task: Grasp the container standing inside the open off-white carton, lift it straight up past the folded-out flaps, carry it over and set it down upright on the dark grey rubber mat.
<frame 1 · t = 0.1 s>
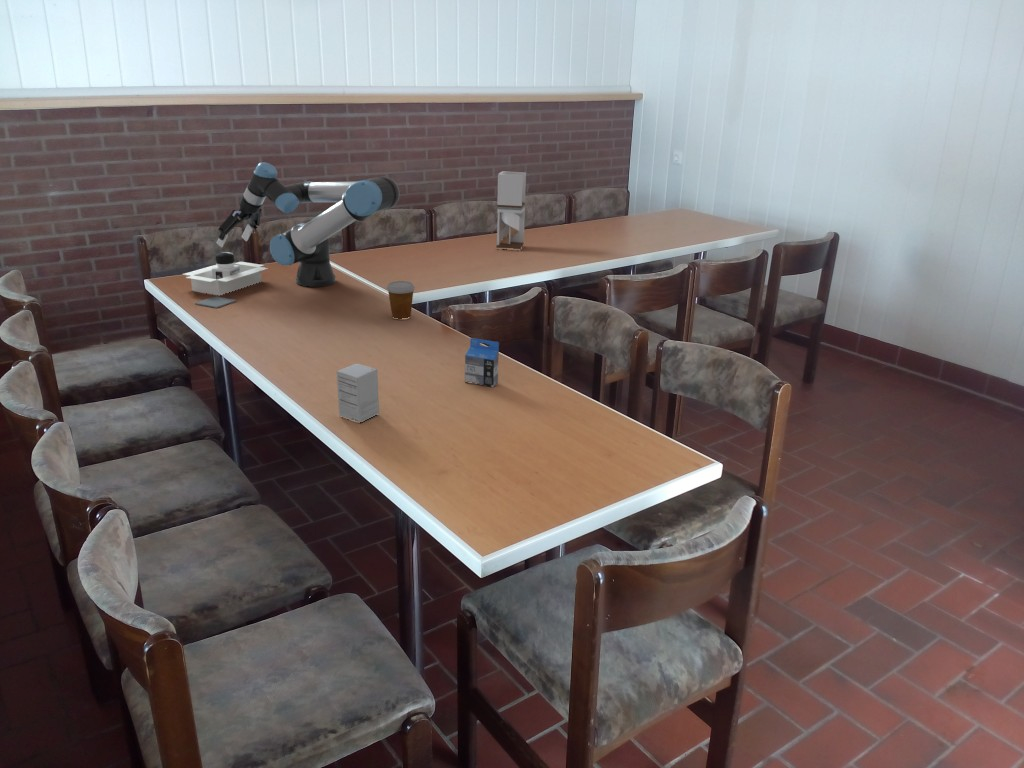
hand: (232, 242, 319), 15 cm above the table, tool tilted 35°, fingers open, 13 cm apart
label tape cartridge: (481, 383, 231), on the table
mat: (216, 302, 296), on the table
disposable coffee cup: (401, 318, 286), on the table
white hollow stand: (510, 248, 392), on the table
grey drawer cabinet: (359, 416, 208), on the table
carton: (227, 286, 316), on the table
container: (227, 286, 316), resting in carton
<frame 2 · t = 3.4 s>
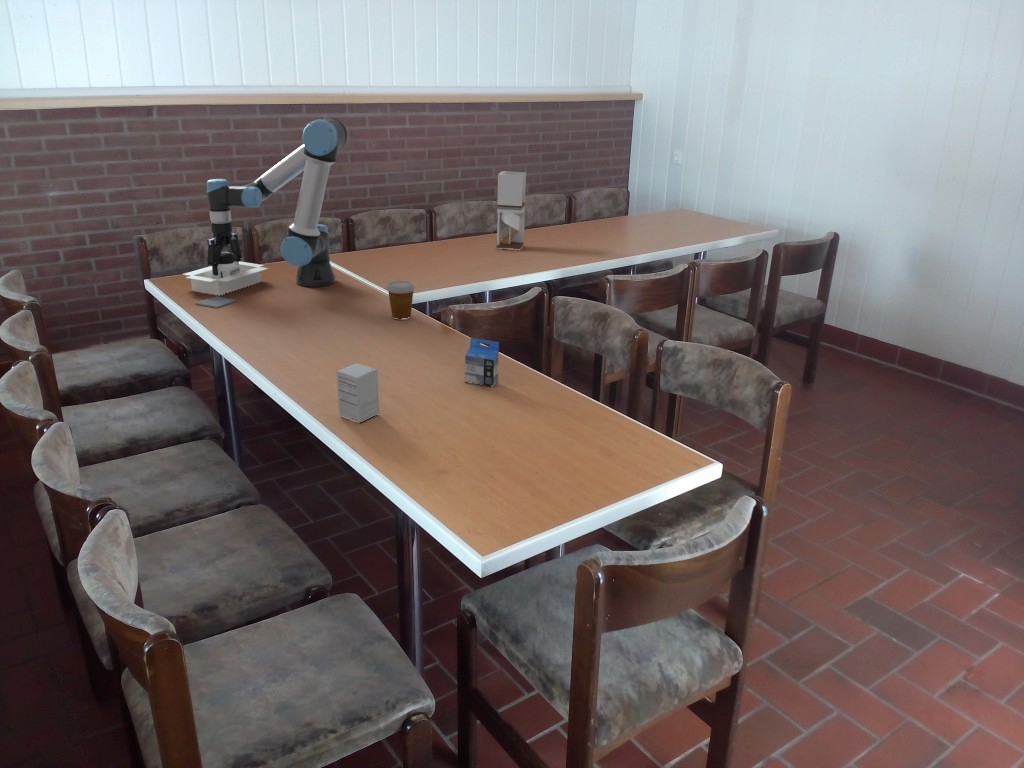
hand: (227, 280, 315), 2 cm above the table, tool pointing down, fingers closed on container, 9 cm apart
container: (227, 286, 316), resting in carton, touching gripper
everything else where it was.
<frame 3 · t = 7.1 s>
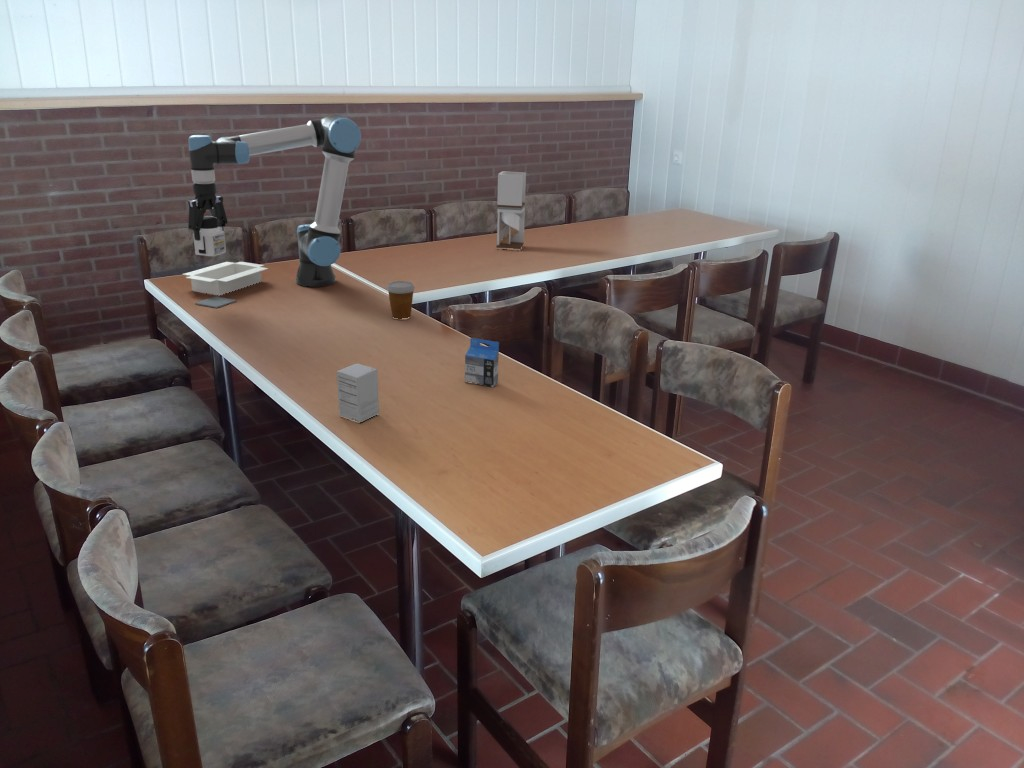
hand: (210, 246, 291), 20 cm above the table, tool pointing down, fingers closed on container, 9 cm apart
container: (211, 254, 292), point 17 cm above the table, touching gripper
everything else where it was.
when the fingers open (4 cm above the table, at t = 11.1 s): container drops 1 cm, resting on mat.
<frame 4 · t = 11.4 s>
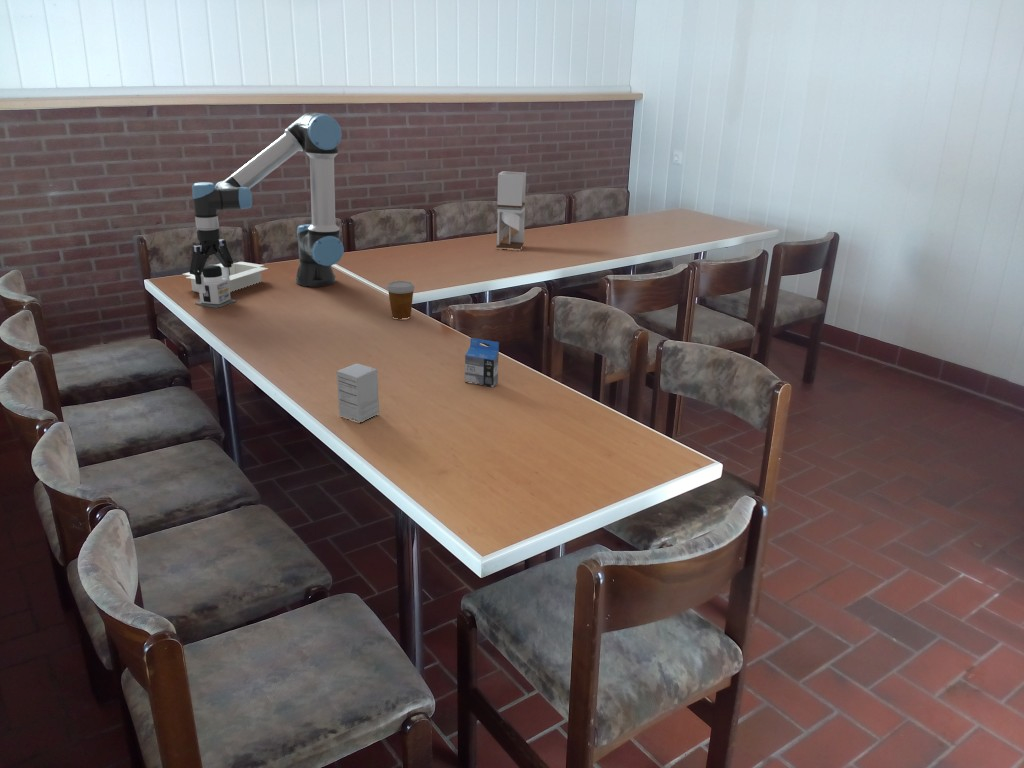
hand: (214, 288, 294), 5 cm above the table, tool pointing down, fingers open, 11 cm apart
container: (215, 301, 296), resting on mat
everything else where it was.
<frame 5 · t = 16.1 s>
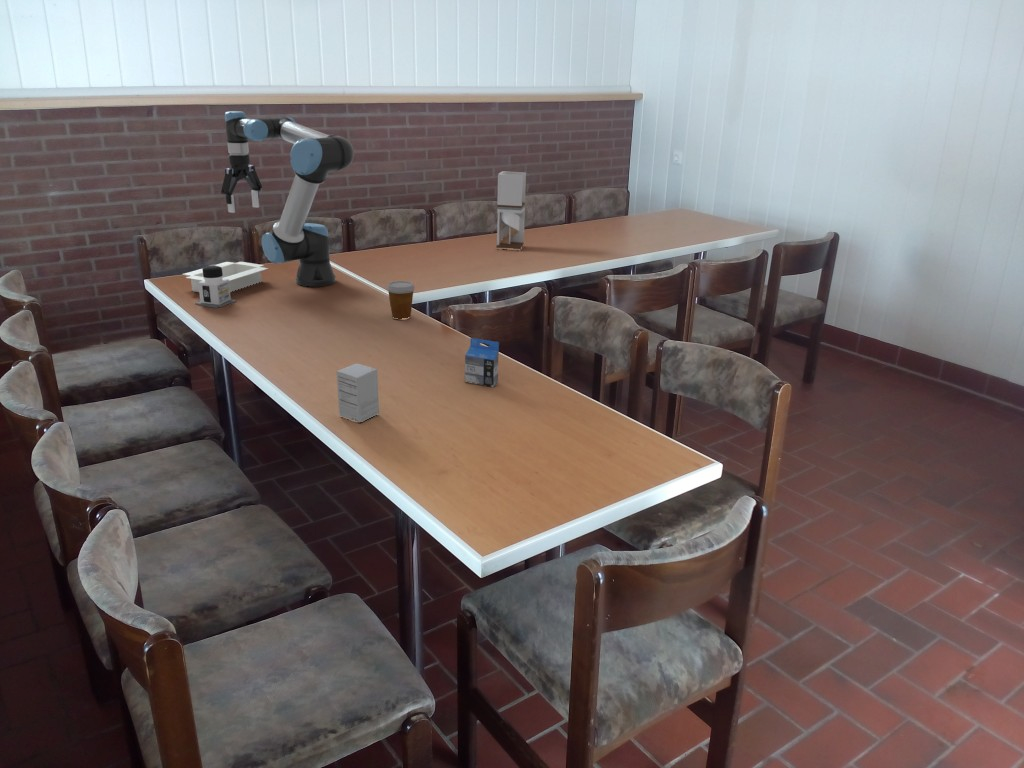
hand: (244, 209, 321), 27 cm above the table, tool pointing down, fingers open, 13 cm apart
nothing on the table moved.
at the end: container inside the target area on the mat (0.0 cm from its centre), point 0.3 cm above the mat's base; container tilted 0°; the gripper is holding nothing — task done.
